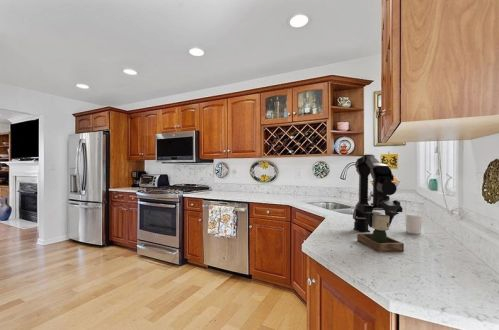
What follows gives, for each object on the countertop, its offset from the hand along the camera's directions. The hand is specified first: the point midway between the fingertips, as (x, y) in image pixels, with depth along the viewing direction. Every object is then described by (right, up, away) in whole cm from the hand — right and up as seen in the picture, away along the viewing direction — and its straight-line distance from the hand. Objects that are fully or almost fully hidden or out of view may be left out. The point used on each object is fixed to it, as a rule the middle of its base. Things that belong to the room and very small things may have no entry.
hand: (379, 227), depth 111 cm
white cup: (+33, -10, +26) cm, 43 cm away
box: (0, -9, 0) cm, 9 cm away
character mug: (0, -8, 0) cm, 8 cm away
